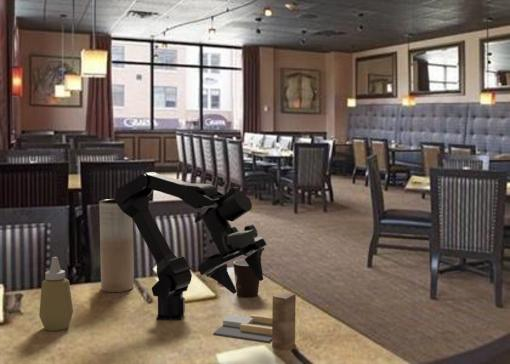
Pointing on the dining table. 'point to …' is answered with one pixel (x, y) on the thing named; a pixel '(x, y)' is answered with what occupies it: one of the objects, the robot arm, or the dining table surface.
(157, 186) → the robot arm
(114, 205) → the vase
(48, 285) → the squeeze bottle
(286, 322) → the wooden block
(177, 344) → the dining table surface
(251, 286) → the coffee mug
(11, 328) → the dining table surface
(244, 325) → the underlay
